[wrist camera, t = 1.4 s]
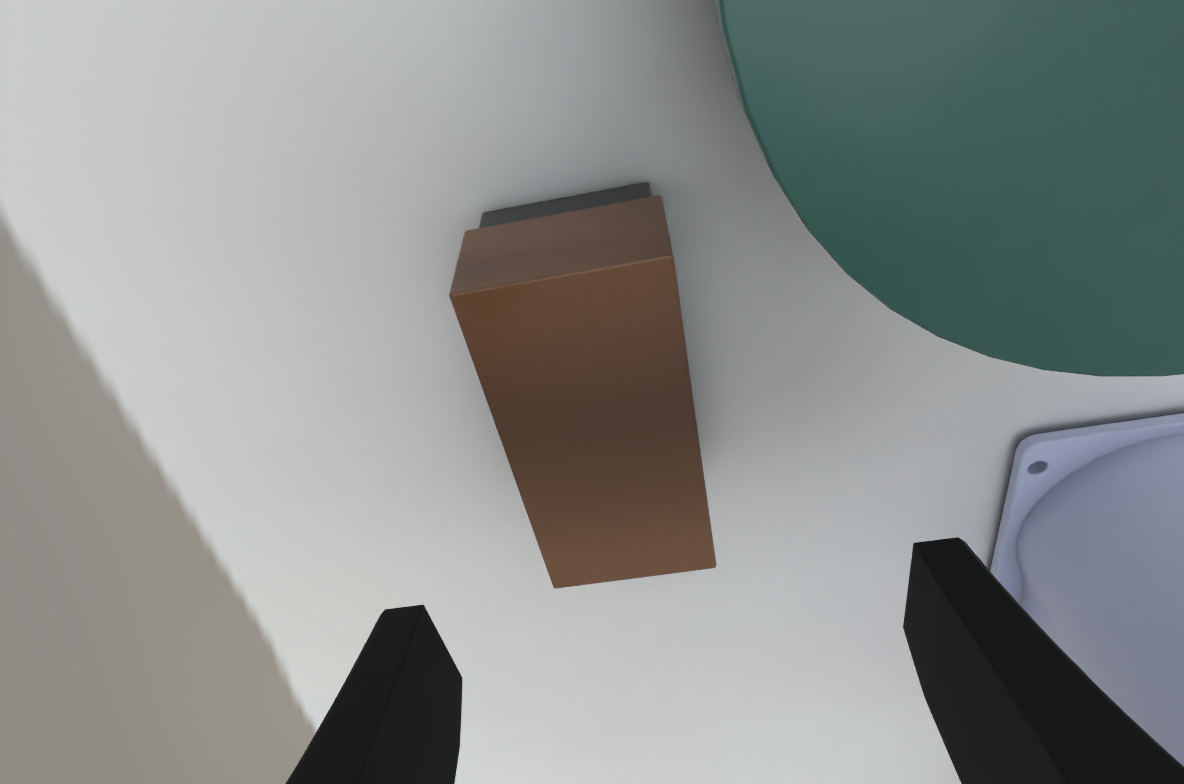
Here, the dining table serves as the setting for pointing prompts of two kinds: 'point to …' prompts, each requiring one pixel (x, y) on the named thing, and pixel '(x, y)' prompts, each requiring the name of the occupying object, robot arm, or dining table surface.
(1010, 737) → the robot arm
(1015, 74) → the pot lid
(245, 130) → the dining table surface
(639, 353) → the brown rectangular block
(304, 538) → the dining table surface
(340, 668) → the dining table surface
